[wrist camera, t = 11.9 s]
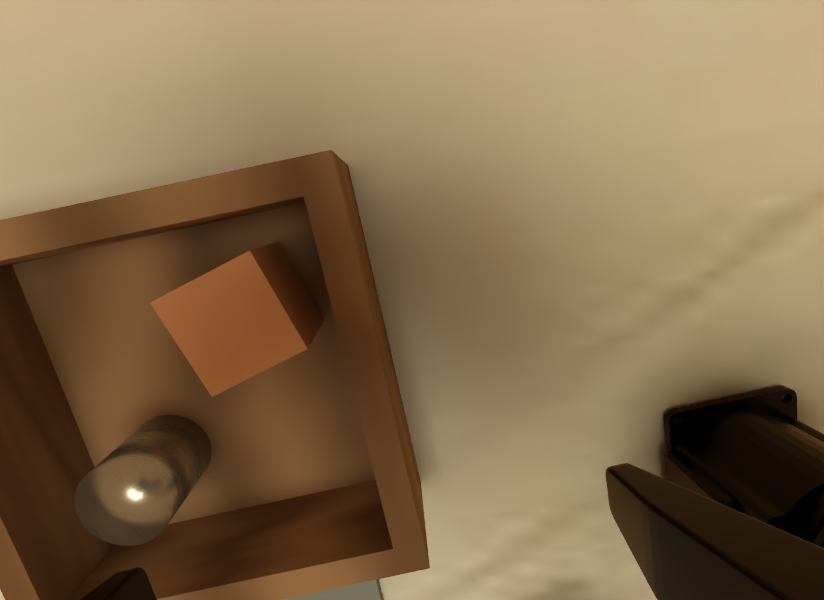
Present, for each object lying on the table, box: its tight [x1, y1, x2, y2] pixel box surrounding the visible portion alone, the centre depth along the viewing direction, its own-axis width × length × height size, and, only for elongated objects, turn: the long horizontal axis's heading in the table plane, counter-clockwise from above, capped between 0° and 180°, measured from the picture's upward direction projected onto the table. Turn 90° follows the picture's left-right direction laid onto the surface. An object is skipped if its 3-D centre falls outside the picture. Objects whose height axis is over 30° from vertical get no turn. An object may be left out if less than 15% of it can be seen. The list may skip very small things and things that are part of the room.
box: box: [0, 150, 430, 600], centre depth 18 cm, size 16×16×6 cm
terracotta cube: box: [150, 241, 324, 397], centre depth 18 cm, size 4×4×4 cm
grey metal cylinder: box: [74, 415, 212, 546], centre depth 19 cm, size 4×4×4 cm
